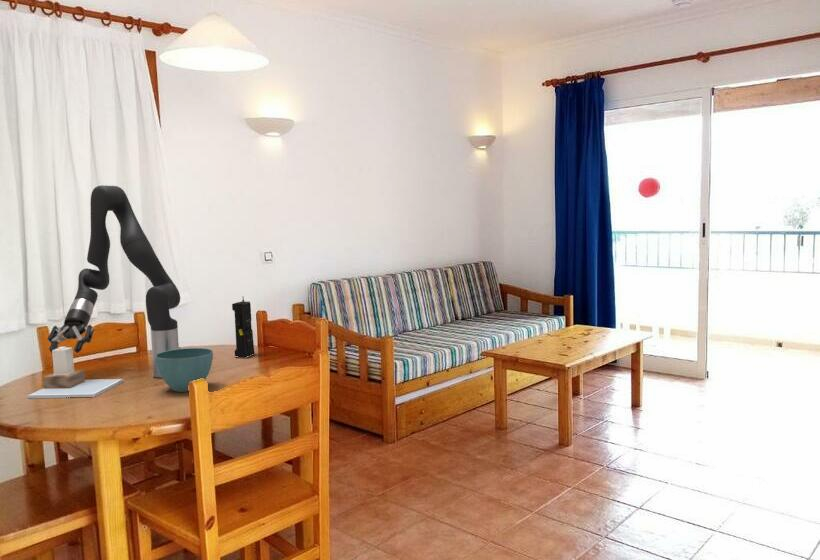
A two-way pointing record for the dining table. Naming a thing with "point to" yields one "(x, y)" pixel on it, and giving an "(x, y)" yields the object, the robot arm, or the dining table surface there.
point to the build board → (73, 386)
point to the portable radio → (243, 329)
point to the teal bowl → (184, 366)
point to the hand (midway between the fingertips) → (64, 351)
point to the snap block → (63, 361)
